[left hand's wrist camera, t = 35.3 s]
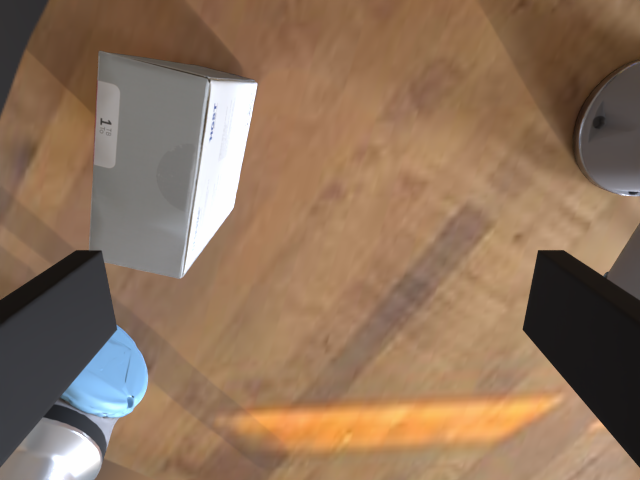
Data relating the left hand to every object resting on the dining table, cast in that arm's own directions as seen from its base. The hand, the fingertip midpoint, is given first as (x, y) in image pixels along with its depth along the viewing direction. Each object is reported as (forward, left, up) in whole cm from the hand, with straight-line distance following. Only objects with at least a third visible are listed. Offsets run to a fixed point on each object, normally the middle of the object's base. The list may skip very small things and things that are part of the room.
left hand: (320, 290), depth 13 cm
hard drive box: (+8, +10, -38) cm, 40 cm away
